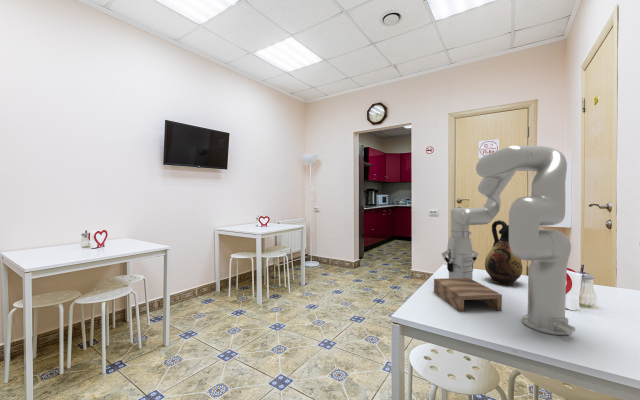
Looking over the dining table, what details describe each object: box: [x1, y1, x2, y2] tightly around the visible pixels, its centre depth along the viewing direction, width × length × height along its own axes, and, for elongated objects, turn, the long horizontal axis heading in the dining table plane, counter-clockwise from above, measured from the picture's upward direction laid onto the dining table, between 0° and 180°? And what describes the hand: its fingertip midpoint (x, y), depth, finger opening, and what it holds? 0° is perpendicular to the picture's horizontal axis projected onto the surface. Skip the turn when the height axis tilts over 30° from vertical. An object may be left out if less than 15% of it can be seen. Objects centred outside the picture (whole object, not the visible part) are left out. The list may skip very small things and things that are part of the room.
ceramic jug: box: [484, 219, 523, 286], centre depth 135 cm, size 17×15×30 cm
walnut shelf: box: [433, 277, 503, 313], centre depth 111 cm, size 20×16×6 cm
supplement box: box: [448, 253, 473, 280], centre depth 129 cm, size 7×7×13 cm
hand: (460, 271), depth 129 cm, fingers closed on supplement box, 9 cm apart
